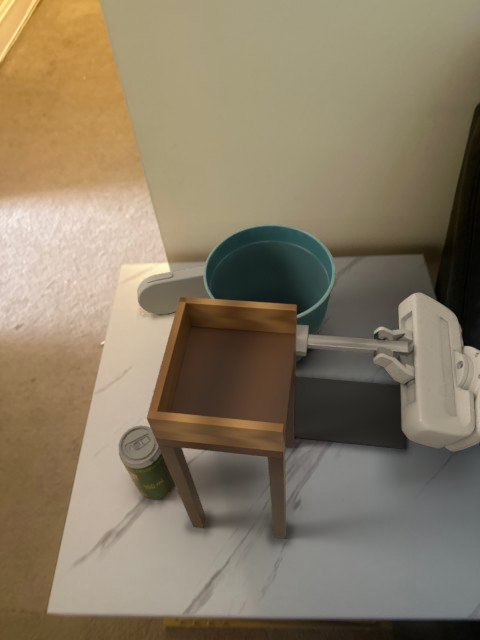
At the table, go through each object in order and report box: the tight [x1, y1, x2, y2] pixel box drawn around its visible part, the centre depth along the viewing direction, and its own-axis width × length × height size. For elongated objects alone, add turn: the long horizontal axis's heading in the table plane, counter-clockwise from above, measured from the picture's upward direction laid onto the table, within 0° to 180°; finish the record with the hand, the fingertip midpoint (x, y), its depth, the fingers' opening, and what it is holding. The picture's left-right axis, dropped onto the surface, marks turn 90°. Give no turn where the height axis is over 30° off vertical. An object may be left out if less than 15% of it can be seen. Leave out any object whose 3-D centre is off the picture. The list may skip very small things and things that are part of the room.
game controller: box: [136, 265, 210, 315], centre depth 93 cm, size 20×2×8 cm, turn 100°
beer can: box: [118, 424, 175, 500], centre depth 72 cm, size 5×5×12 cm
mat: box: [295, 375, 405, 450], centre depth 82 cm, size 22×10×1 cm, turn 82°
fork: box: [296, 325, 408, 357], centre depth 69 cm, size 18×4×1 cm, turn 82°
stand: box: [146, 297, 297, 540], centre depth 64 cm, size 12×14×30 cm
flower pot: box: [203, 223, 337, 363], centre depth 83 cm, size 18×18×17 cm
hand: (376, 344), depth 68 cm, fingers closed on fork
